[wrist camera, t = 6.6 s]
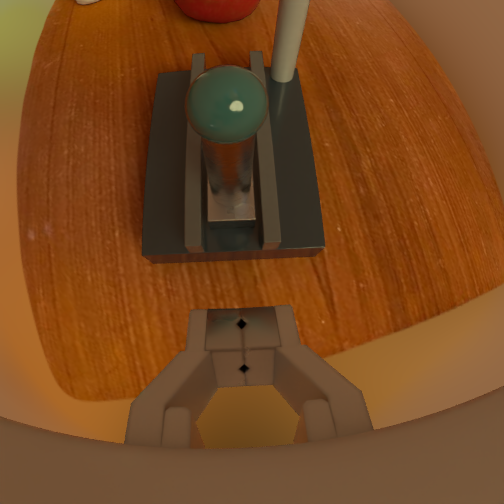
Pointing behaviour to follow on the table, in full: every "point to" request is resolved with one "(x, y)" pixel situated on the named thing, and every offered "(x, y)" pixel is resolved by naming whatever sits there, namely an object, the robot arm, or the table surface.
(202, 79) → the tap handle
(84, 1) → the water bottle
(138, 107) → the table surface
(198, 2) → the apple
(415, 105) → the table surface
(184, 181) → the tap base
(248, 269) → the table surface
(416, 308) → the table surface
